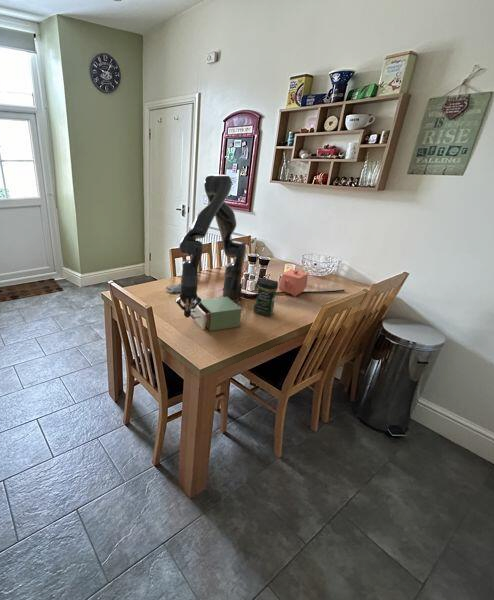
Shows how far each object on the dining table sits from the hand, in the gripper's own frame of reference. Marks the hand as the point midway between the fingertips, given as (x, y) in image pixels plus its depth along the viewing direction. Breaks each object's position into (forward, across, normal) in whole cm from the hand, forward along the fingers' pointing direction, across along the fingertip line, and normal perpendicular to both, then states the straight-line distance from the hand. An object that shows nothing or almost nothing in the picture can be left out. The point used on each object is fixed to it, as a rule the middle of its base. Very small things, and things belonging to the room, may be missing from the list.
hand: (187, 316), depth 156 cm
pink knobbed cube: (+5, +77, +22) cm, 80 cm away
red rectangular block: (+3, +12, 0) cm, 12 cm away
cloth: (+5, +17, +46) cm, 49 cm away
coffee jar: (+5, +45, +3) cm, 45 cm away
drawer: (+4, +11, 0) cm, 11 cm away
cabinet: (+5, +17, 0) cm, 18 cm away
